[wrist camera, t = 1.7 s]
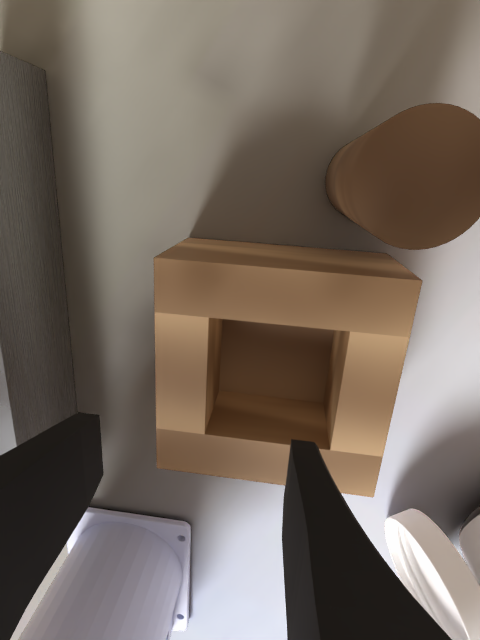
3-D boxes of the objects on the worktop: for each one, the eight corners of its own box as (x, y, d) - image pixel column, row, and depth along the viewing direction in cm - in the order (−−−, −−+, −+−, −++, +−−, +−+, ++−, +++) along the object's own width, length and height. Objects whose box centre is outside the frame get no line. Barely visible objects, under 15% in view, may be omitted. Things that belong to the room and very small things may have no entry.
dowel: (395, 221, 17) (477, 254, 10) (320, 215, 17) (343, 244, 10) (411, 140, 16) (517, 106, 8) (330, 136, 16) (365, 99, 9)
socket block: (354, 425, 21) (373, 497, 16) (185, 404, 21) (156, 467, 17) (387, 253, 18) (422, 280, 13) (188, 237, 18) (153, 257, 14)
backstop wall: (83, 484, 24) (34, 557, 20) (53, 479, 24) (-4, 551, 20) (45, 70, 17) (-51, 28, 12) (0, 68, 17) (-111, 26, 12)
